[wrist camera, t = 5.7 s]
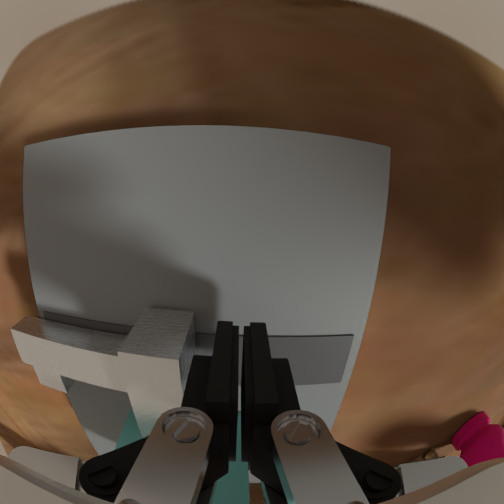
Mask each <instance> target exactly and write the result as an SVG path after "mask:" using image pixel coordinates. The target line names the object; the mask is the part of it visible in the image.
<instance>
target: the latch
mask: <svg viewBox="0 0 504 504" xmlns="http://www.w3.org/2000/svg"><path fill="white" fill-rule="evenodd" d="M11 332H12V335H13V338H14V341H15V343H16V346H17V349H18V352H19V354H20V357H21V359H22V362H25V363H27V364H30V365H33V367H34V369H35V372H36V374H37V376H38V379H39V381H40V383H41V384H43V385H45V386H48V387H51V388H53V389H56V390H59V391H62V392H65V393H68V391H69V390H70V389H71V387H72V386H73V384H74V383H75V381H74V379H75V380H78V381H82V382H85V383H89V384H93V385H97V386H101V387H105V388H109V389H114V390H118V391H123V392H128V396H129V399H130V402H131V406H132V409H133V412H134V415H135V418H136V421H137V424H138V427H139V429H140V432H141V435H142V438H144V437H146V436H148V435H150V433H151V431H152V429H153V427H154V425H155V423H156V421H157V419H158V418H159V417H160V416H161V414H163V413H164V412H166V411H167V410H170V409H173V408H176V407H181V403H182V399H183V395H184V391H185V386H186V382H187V378H188V374H189V370H190V366H191V362H192V358H193V355H196V337H195V311H181V310H169V309H158V308H148V307H147V308H146V309H145V310H144V312H143V313H142V315H141V316H140V318H139V319H138V321H137V322H136V324H135V325H134V327H133V328H132V330H131V331H130V333H129V334H128V335H122V334H115V333H109V332H103V331H97V330H92V329H86V328H81V327H76V326H71V325H67V324H62V323H57V322H53V321H49V320H45V319H40V318H36V317H33V316H29V315H27V316H26V317H24V318H23V319H22V320H21V321H19V322H18V323H17V324H16V325H14V326H13V327H12V328H11Z"/></svg>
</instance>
